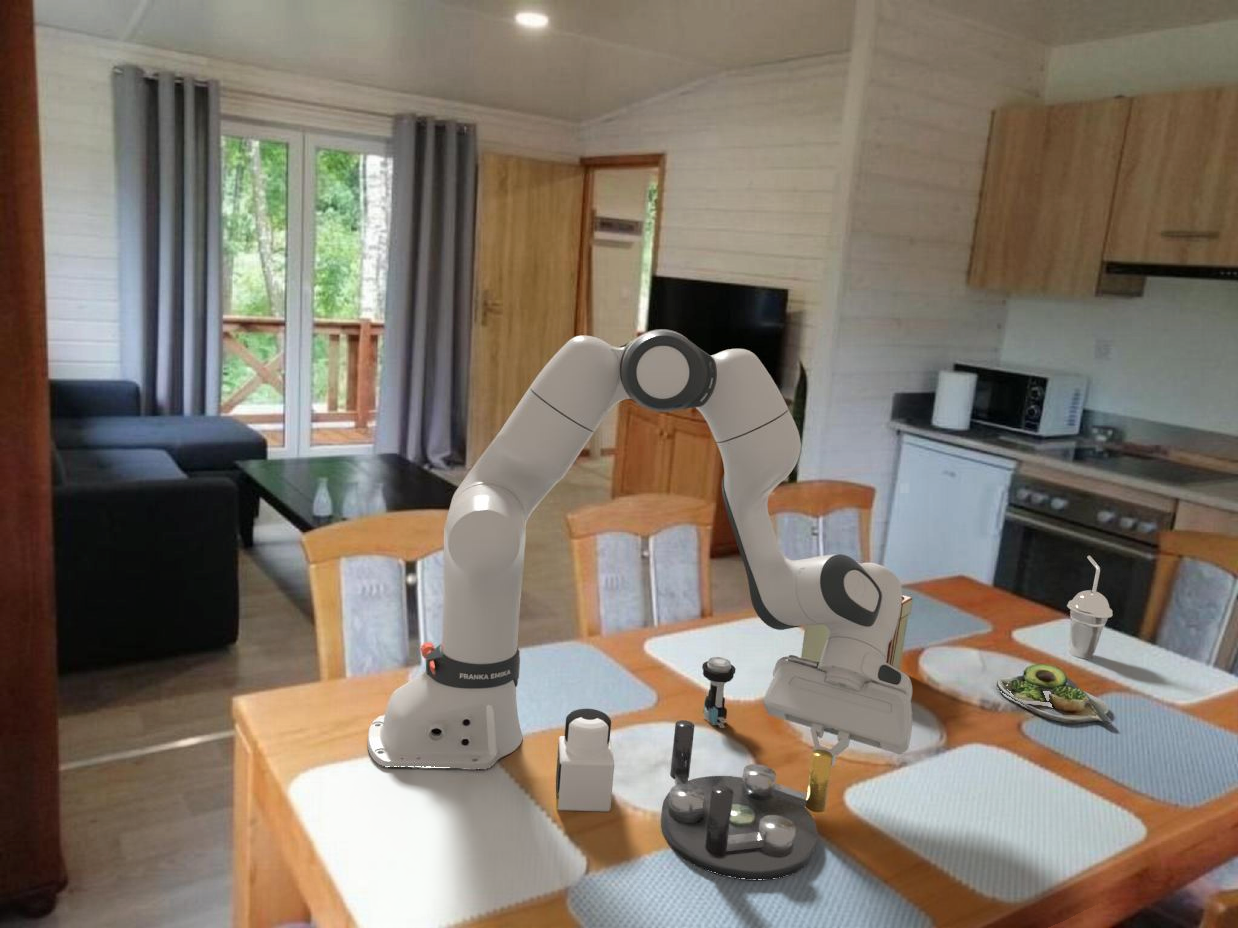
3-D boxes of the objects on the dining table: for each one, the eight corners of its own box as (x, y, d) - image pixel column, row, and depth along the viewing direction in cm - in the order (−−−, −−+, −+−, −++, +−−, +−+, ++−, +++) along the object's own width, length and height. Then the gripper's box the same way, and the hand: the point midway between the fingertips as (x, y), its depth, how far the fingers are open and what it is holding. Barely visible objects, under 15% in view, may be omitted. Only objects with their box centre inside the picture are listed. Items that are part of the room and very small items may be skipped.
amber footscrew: (736, 793, 126) (743, 737, 124) (747, 778, 130) (754, 724, 128) (819, 821, 121) (827, 764, 119) (828, 806, 124) (836, 750, 123)
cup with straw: (1056, 654, 192) (1073, 562, 188) (1061, 642, 200) (1078, 553, 196) (1101, 666, 188) (1120, 572, 184) (1105, 653, 195) (1123, 562, 191)
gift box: (907, 664, 180) (920, 580, 177) (878, 696, 165) (892, 605, 162) (823, 640, 189) (834, 559, 186) (789, 668, 174) (800, 581, 170)
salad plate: (1140, 725, 163) (1146, 701, 162) (1067, 738, 156) (1072, 712, 155) (1051, 678, 180) (1056, 656, 179) (981, 687, 173) (986, 664, 172)
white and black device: (555, 781, 129) (561, 701, 126) (606, 783, 130) (613, 703, 127) (556, 811, 122) (562, 727, 120) (610, 812, 123) (617, 729, 120)
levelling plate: (694, 889, 109) (696, 869, 108) (640, 795, 127) (642, 778, 127) (844, 869, 115) (847, 851, 114) (772, 782, 133) (774, 766, 133)
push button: (737, 729, 148) (744, 671, 146) (706, 731, 147) (713, 672, 145) (722, 710, 155) (728, 654, 153) (692, 711, 153) (698, 655, 151)
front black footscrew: (782, 833, 117) (790, 774, 116) (799, 854, 113) (807, 793, 112) (698, 842, 114) (705, 782, 112) (712, 864, 110) (719, 802, 108)
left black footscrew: (704, 823, 118) (710, 764, 116) (669, 821, 118) (676, 762, 116) (694, 775, 129) (699, 721, 128) (662, 773, 129) (668, 719, 127)
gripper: (777, 642, 134) (745, 730, 128) (921, 680, 125) (896, 777, 119) (783, 660, 139) (753, 747, 133) (922, 699, 130) (898, 793, 124)
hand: (822, 762), depth 126 cm, fingers closed
